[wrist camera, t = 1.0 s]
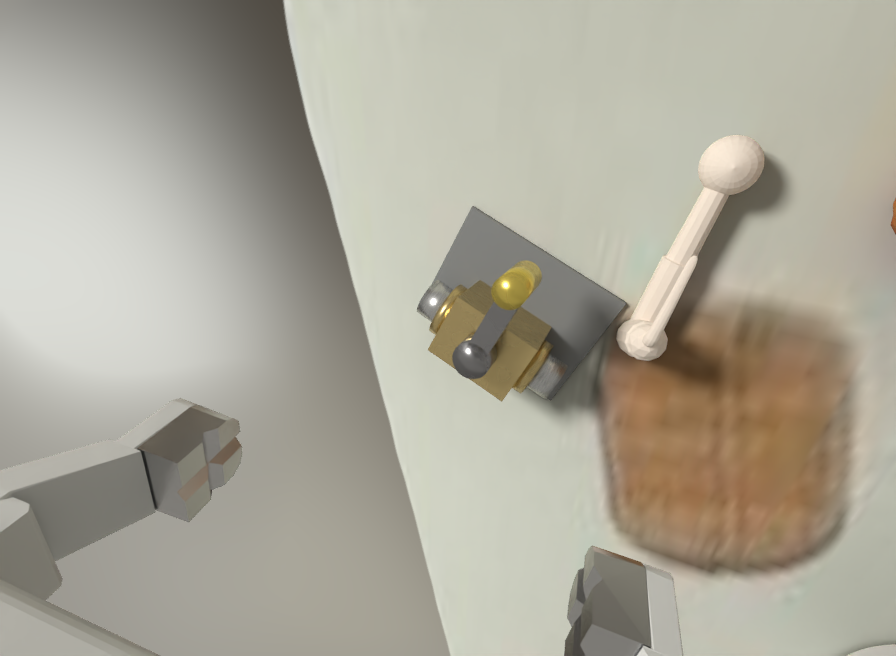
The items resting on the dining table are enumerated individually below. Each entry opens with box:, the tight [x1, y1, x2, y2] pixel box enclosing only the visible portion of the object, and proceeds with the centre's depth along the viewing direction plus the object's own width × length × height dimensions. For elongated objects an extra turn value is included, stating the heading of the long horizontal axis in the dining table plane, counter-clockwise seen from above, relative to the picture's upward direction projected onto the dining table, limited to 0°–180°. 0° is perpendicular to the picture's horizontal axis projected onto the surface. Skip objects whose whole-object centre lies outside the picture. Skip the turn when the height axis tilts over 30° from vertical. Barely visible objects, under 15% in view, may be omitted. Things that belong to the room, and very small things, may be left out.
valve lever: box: [452, 260, 542, 379], centre depth 36 cm, size 11×3×6 cm, turn 152°
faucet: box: [616, 135, 765, 361], centre depth 35 cm, size 4×18×10 cm, turn 163°
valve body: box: [417, 280, 567, 401], centre depth 43 cm, size 14×6×6 cm, turn 62°
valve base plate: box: [432, 206, 626, 400], centre depth 45 cm, size 16×12×1 cm
